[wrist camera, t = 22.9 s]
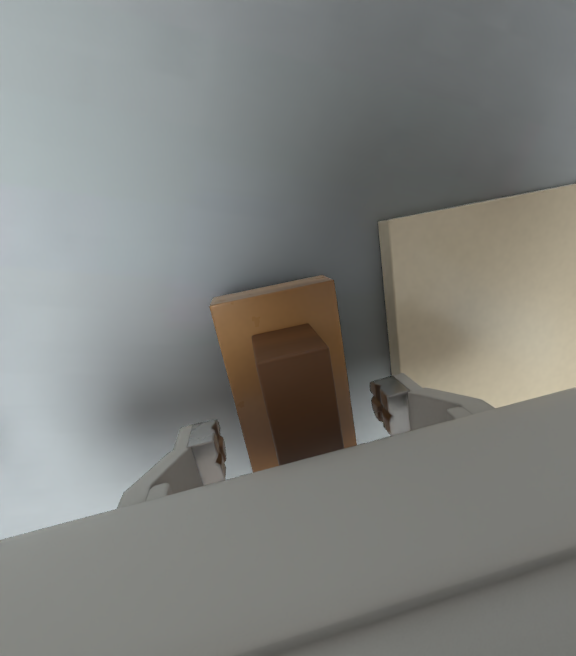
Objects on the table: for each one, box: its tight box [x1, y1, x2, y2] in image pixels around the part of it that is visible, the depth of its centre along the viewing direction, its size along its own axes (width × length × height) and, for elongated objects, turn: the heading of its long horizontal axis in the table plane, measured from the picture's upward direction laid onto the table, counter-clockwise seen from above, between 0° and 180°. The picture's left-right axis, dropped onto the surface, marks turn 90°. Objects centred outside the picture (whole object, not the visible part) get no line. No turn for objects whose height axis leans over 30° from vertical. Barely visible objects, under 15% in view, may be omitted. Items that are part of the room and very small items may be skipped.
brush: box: [210, 275, 357, 473], centre depth 14 cm, size 11×5×6 cm, turn 10°
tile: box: [378, 183, 576, 408], centre depth 18 cm, size 22×14×1 cm, turn 100°
